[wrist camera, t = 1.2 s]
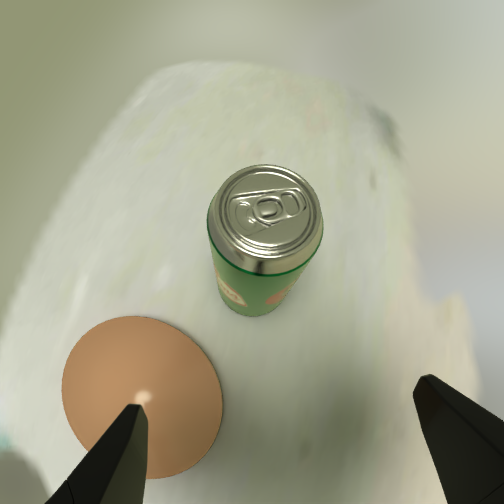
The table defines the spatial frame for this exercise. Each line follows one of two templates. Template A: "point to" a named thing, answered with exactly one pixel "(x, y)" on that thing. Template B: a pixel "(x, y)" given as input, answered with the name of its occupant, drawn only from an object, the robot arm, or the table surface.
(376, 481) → the table surface
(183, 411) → the terracotta plate
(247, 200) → the soda can
